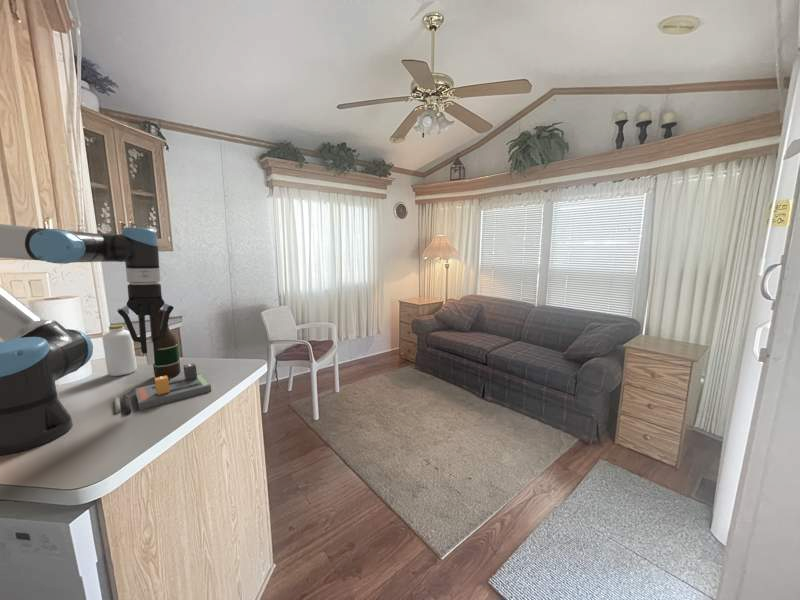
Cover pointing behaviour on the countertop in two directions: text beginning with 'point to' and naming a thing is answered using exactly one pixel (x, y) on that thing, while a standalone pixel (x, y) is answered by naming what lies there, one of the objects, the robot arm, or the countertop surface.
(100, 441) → the countertop surface
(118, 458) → the countertop surface
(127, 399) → the cord black near
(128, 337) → the white plastic bottle
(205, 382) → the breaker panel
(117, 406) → the cord grey near
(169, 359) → the beer bottle
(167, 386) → the block
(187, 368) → the block
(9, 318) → the robot arm
